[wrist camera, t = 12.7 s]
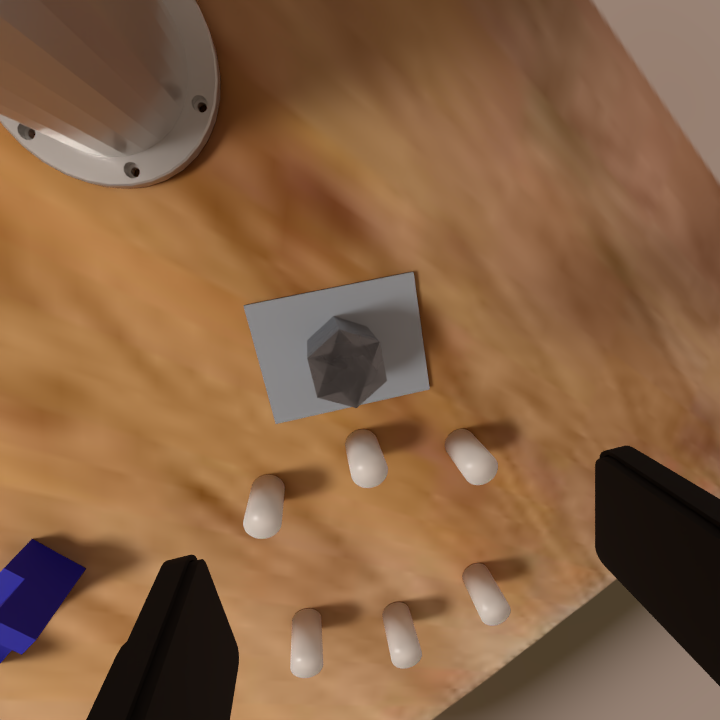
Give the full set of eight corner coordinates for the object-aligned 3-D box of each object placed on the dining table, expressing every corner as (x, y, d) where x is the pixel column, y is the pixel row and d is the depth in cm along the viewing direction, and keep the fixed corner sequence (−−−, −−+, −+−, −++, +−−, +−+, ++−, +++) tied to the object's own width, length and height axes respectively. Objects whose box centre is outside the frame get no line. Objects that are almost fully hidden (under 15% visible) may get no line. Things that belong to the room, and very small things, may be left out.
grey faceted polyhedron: (302, 322, 27) (302, 337, 22) (363, 309, 27) (375, 321, 22) (319, 388, 28) (321, 416, 23) (376, 375, 29) (390, 399, 24)
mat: (244, 305, 26) (243, 305, 26) (411, 271, 27) (413, 272, 27) (276, 421, 29) (275, 423, 28) (428, 387, 30) (429, 389, 29)
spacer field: (240, 456, 29) (230, 487, 25) (470, 403, 31) (494, 425, 27) (300, 650, 35) (300, 698, 31) (491, 598, 37) (513, 638, 33)
